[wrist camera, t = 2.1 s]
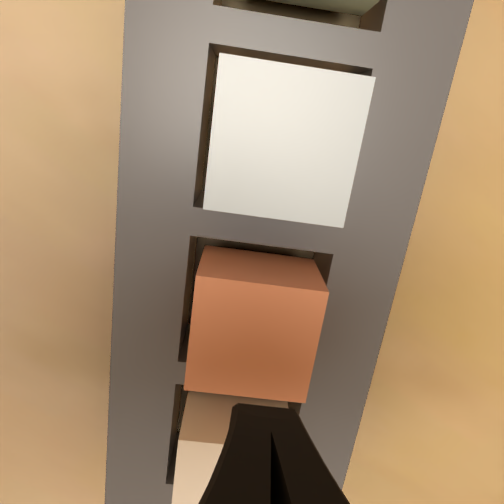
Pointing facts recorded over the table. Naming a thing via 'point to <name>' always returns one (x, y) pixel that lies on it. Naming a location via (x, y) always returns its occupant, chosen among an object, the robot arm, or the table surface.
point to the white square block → (285, 140)
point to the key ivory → (204, 440)
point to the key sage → (335, 5)
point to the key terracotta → (254, 324)
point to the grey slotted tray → (259, 228)
